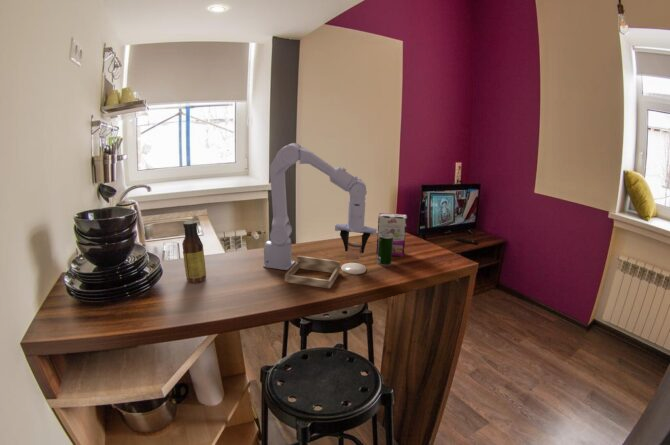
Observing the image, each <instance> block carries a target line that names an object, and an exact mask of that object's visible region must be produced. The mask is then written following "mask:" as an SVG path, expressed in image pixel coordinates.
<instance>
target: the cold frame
mask: <svg viewBox="0 0 670 445" xmlns="http://www.w3.org/2000/svg"><path fill="white" fill-rule="evenodd" d="M340 263H341V261H340V260H334V259H326V258H320V257H319V258H318V257H312V256H303V255H297V256H296V261H295V263H294V264H293V265H292V266H291V267H290V268H289V269H288V270H287V272H286V273H285V274H284V282H285V283H291V284H298V285H303V286H311V287H317V288H325V289H331V288H332V286H333V285H334V283H335V281H336V279H337V277H338V276H339V274H340V268H341V266H340ZM299 269H303V270H311V271H316V272H317V271H318V272H324V273H331V276H330V277H329V279H323V278H317V277H309V276H303V275H302V276H301V275H295V274H296V272H298V270H299Z"/></svg>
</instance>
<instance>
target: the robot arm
mask: <svg viewBox="0 0 670 445" xmlns="http://www.w3.org/2000/svg"><path fill="white" fill-rule="evenodd" d="M297 162H299V163H298V165H304V164H305V165H310V166H311V167H313V168H315V169H317V170H318V171H320V172H321V173H323V174H325V175H327V176H328V177H329V181H330V182H331V183H332V184H334V185H335V186H337V188H338V187H339V188H340V189H342V191H343V192H348V195H349V201H348V210H347V212H348V214H347V224H344V223H343V224H338V223H335V225H334V231H335V232H338V231H340V232H339V236H340V238H341V240H342V243H343V246H344V252H347V249H348V247H347V245H348V243H349V236H350V233H358V234H359V233H360V234H362V235H361V245H362V248H361V253H360V254H364V252H365V248H366V245H367V242H368V240H369V238H370V237H371V235H372V236H376V235H377V232H378V227H376V228H375V227H370V226H366V225H365V216H366V214H365V213H366V202H365V201H366V195H367V192H368V191H367V185H366V183H365V182H364V181H363V180H362V179H361V178H358V176H354V175H352V174H350V173H349V172H348V171H347V168H345V167H341V166H338V167H333V166H332V165H331V164H329V163H328V162H326V161H325V160H324V159H322V158H321V157H319V156H318V155H317V154H315V152H313V151H311V150H309V149H308V148H306V147H304V146H301V145H300V144H299V143H297V142H292V143H288V144H287V145H285V146H283V147H281V149H280V150H278V151H277V152H276V154H275V157H274V158H273V160H272V162H271V163H270V166H269V173H270V175H269V176H270V187H271V188H270V189H271V202H272V203H271V205H272V206H271V207H272V217H273V218H272V221H271V222H272V223H271V231H270V233H269V239H270V240H267V241H266V242H265V244H264V245H263V246H264V247H263V261H264V262H263V263H264V264H263V268H268V269H275V270H283V271H289V270H290V269H291V267H292V266H293V265H294V264H295V263H296V261H295V260H292V240H291V237H290V236H291V234H292V233H293V227H292V225H291V223H290V218H289V215H288V204H287V190H286V189H287V186H286V185H287V184H286V171H287V170H288V169H289V168H290V167H291V166H293V165H294V164H297Z"/></svg>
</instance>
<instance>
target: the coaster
mask: <svg viewBox="0 0 670 445" xmlns="http://www.w3.org/2000/svg"><path fill="white" fill-rule="evenodd" d="M340 269H341V271H342V272H343V273H345V274H348V275H353V276H354V275H362V274H364V273H366V271H367V267H366V265H364V264H361V263H359V262H358V263H357V262H348V263H346V262H345V263H343V264H342V265H341V266H340Z"/></svg>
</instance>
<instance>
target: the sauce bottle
mask: <svg viewBox="0 0 670 445" xmlns="http://www.w3.org/2000/svg"><path fill="white" fill-rule="evenodd" d="M182 226H183V228H184V239H183V240H182V243H181V244H182V254H183V263H184V270H185V271H184V272H185V277H186V281H187V282H188V283H191V284H198V283H201V282H203V281H205V280H206V279H207V269H206V260H205V251H204V243H203V242H202V239H201V238H200V236H199V234H198V223H197V221H196V220H187V221H184V222H183V223H182Z"/></svg>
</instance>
